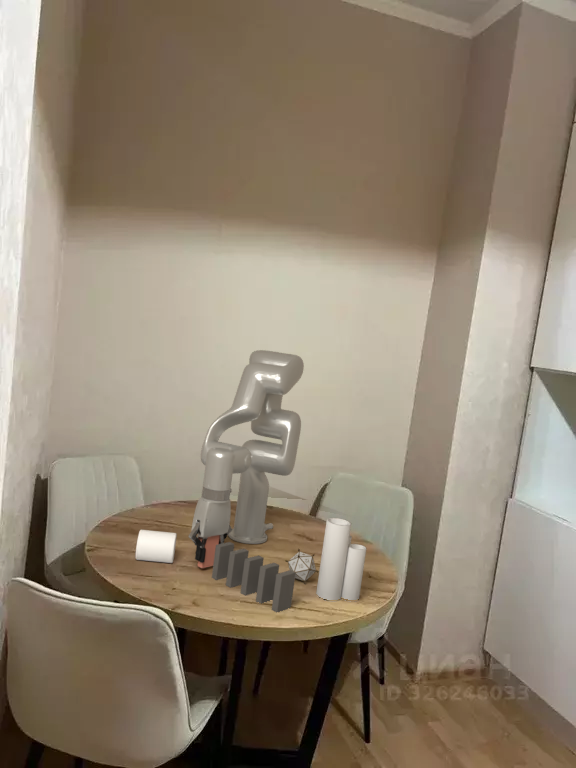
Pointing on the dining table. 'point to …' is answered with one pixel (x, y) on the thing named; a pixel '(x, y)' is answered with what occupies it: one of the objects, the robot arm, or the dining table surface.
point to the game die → (302, 565)
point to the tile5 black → (266, 582)
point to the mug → (156, 546)
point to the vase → (340, 563)
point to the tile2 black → (221, 560)
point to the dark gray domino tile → (236, 567)
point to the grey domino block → (283, 591)
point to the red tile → (209, 551)
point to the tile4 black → (251, 575)
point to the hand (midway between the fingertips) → (207, 558)
